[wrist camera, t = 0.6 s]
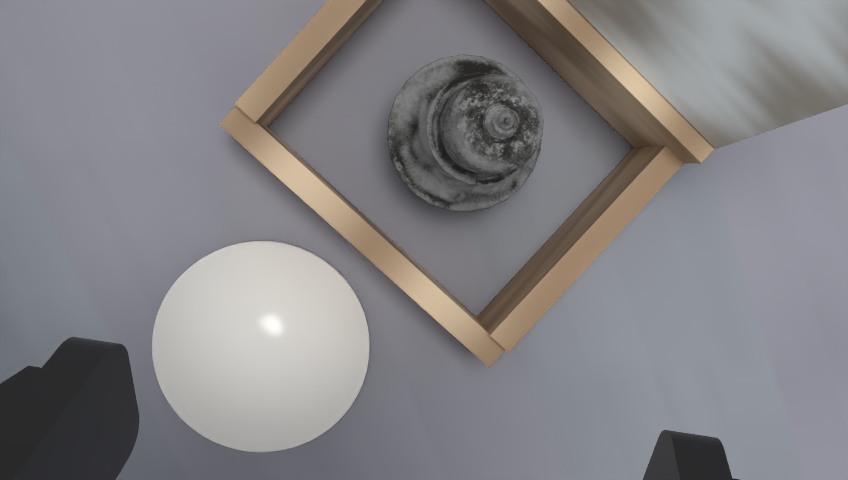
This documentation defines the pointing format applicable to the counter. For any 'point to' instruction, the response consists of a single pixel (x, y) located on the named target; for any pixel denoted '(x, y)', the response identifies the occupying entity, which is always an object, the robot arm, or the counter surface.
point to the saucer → (261, 346)
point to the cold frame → (606, 93)
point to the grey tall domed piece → (465, 133)
